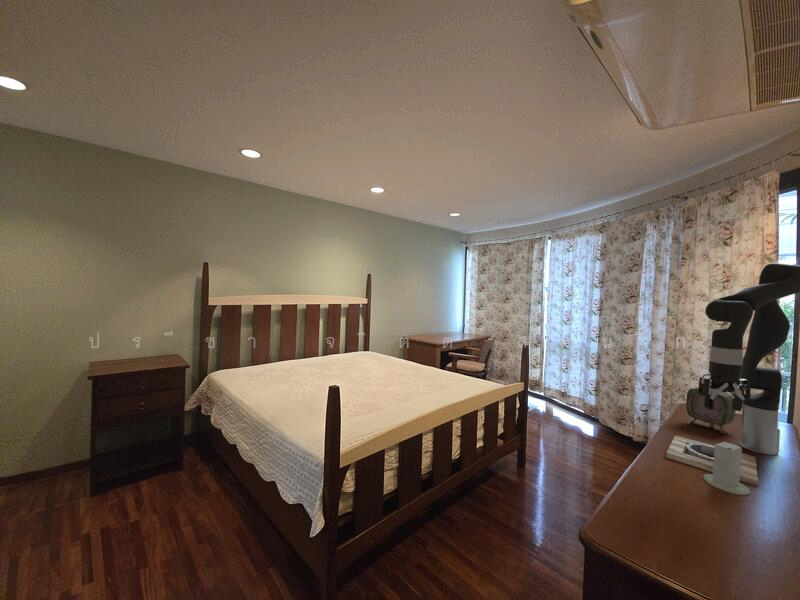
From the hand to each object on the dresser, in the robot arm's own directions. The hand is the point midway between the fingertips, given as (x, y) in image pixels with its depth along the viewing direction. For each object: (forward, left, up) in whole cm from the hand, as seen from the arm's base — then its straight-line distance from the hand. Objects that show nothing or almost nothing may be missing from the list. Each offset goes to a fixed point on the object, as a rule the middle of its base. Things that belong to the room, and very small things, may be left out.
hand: (722, 409), depth 102 cm
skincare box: (+3, +5, -22) cm, 23 cm away
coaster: (+3, +5, -22) cm, 23 cm away
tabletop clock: (-35, -42, -23) cm, 60 cm away
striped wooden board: (-7, -11, -22) cm, 26 cm away
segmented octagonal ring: (-7, -11, -22) cm, 26 cm away
